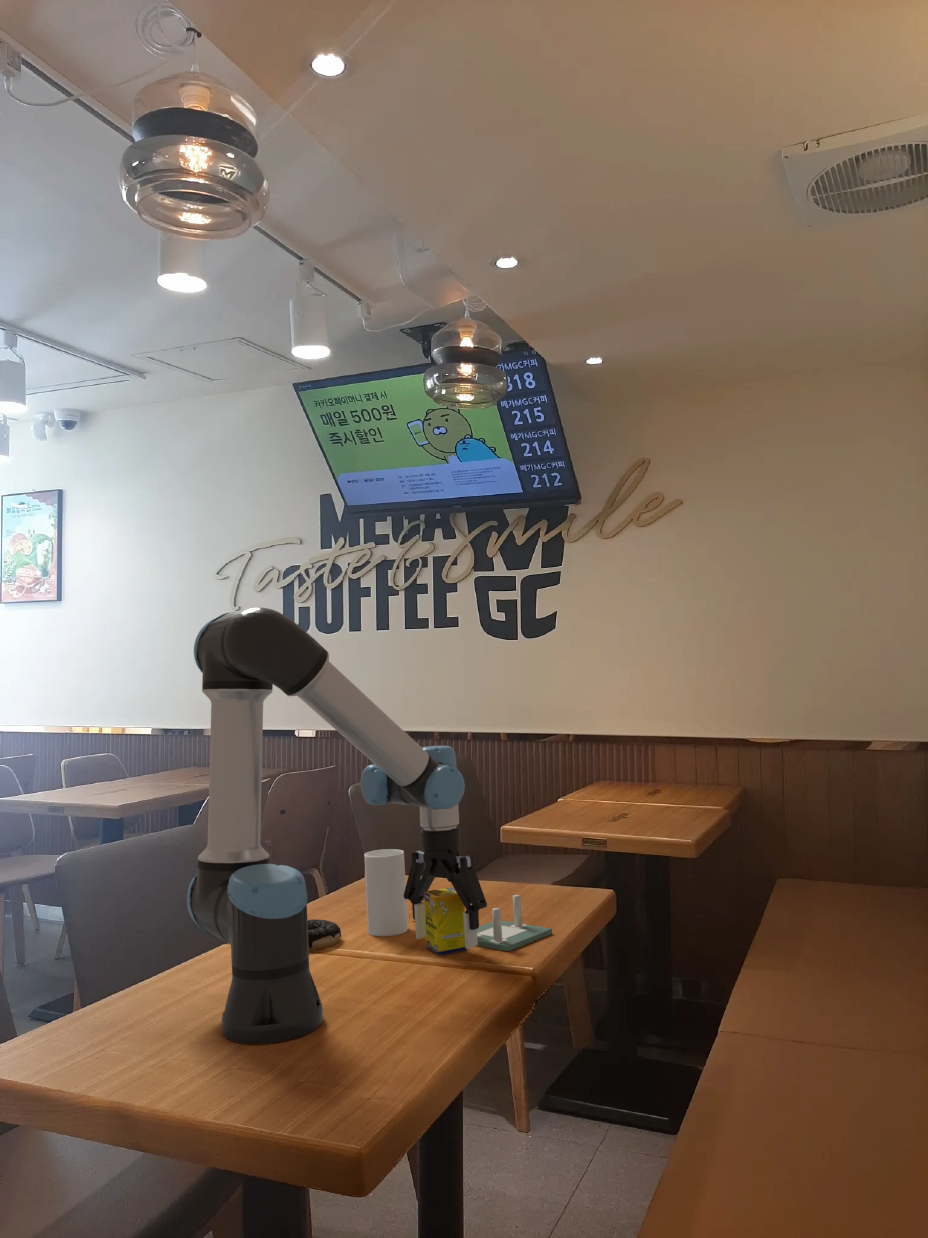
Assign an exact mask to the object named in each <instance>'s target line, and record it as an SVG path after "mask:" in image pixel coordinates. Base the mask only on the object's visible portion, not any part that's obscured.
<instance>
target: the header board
mask: <svg viewBox="0 0 928 1238" xmlns="http://www.w3.org/2000/svg"><path fill="white" fill-rule="evenodd" d="M521 899H522V898H521V895H520V894H513V895H512V906H513V907H512V909H513V921H507V920H502V911H501V910H502V909H501V908H499V907H495V908H491V911H492V912H491V913H492V921H490V922H486V923H483V924H481V925H479V928H477V939H478V945H477V947H481V948H487V949H491V950H496V951H497V950H498V951H503V952H507V951H509V952H510V951H513V950H515V948H516V949H518V948H520V947H523V946H525V945H526V946H527V945H528V944H531V943H533V942H536V941H538V940H540V939H542V938H545V937H548V936H550V935H552V934H553V928H552V927H551V928H549V927H544V926H537V925H532V924H525V923H523V917H522V900H521ZM471 905H472V904H471ZM535 940H536V941H535ZM530 942H531V943H530Z"/></svg>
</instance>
